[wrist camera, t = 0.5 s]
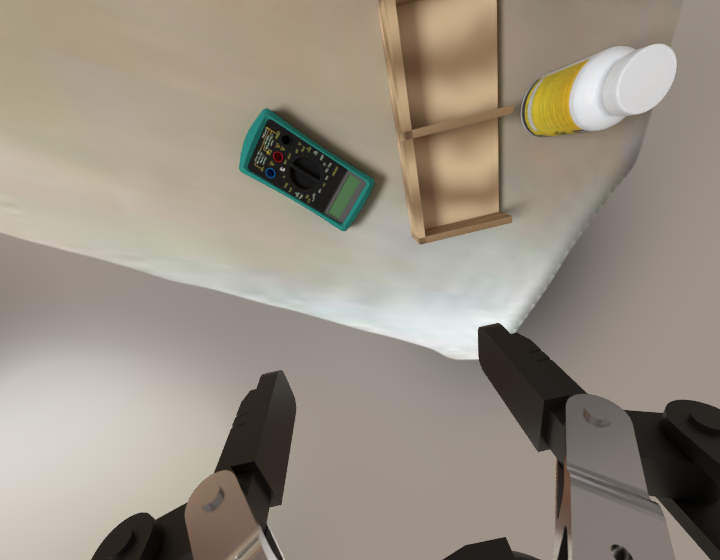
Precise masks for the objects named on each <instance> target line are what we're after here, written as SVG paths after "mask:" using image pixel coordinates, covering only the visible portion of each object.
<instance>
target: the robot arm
mask: <svg viewBox="0 0 720 560" xmlns="http://www.w3.org/2000/svg"><path fill="white" fill-rule="evenodd" d="M478 353H479V361H480V365H481V367H482V370H483V371H484V373H485V374H486V376H487V377H488V379H489V380H490V382H491V383H492V385H493V386H494V388H495V389H496V391H497V392H498V394H499V395H500V396H501V398H502V399H503V401H504V402H505V404H506V405H507V407H508V408H509V410H510V411H511V413H512V414H513V416H514V417H515V419H516V420H517V422H518V423H519V425H520V426H521V428H522V429H523V430H524V432H525V433H526V435H527V436H528V438H529V439H530V441H531V442H532V444H533V445H534V447H535V448H536V449H537V451H538V452H540V451H544V450H549V449H551V451H552V452H553V454H554V455H555V456H556V458H557V461H556V505H555V506H556V507H555V509H556V510H555V536H554V546H553V560H675V556H674V553H673V548H672V544H671V540H670V536H669V533H668V528H667V524H666V520H665V517H664V514H663V511H662V509H661V507H660V506H659V505H658V503H656V502H653V501H651V500H650V498H649V496H655V497H656V498H658V500H659V501H660V502H661V503H662V504H663V506H664V507H665V508H666V509H667V510H668V511H669V512H670V513H671V515H672V516H673V517H674V518H675V519H676V520H677V521H678V523H679V524H680V525H681V526H682V527H683V528H684V530H685V531H686V532H687V533H688V534H689V535H690V536H691V538H693V540H694V541H695V542H696V543H697V545H698V546H699V547H700V548H701V549H702V550H703V551H704V552H705V554H706V555H707V556H708V557H709V558H710V559H711V560H720V409H718V408H716V407H713V406H710V405H708V404H704V403H701V402H696V401H691V400H676V401H672V402H670V403H668V404H667V406H666V408H665V410H664V413H655V412H641V411H629V410H623V409H622V408H620V407H619V406H618V405H616V404H615V403H613V402H611V401H609V400H607V399H605V398H602V397H599V396H596V395H591V394H587V393H586V392H585V391H584V390H583V389H582V388H581V387H580V386H579V385H578V384H577V383H576V382H574V381H573V380H572V379H571V378H570V377H569V376H568V375H567V374H566V373H565V372H564V371H563V370H562V369H561V368H560V367H559V366H557V364H556V363H555V362H553V361H552V360H550V358H549V357H548V356H547V355H546V354H545V353H544V352H542V351H541V349H540V348H539V347H538V346H536V344H535V343H533V342H532V341H531V340H530V339H528V338H526V337H524V336H522V335H520V334H518V333H514V334H510V333H509V332H508V331H507V330H506V329H505V328H504V327H503V326H502V325H501V324H500V323H496V324H491V325H487V326H482V327H479V329H478ZM295 415H296V402H295V397H294V395H293V392H292V390H291V388H290V386H289V383H288V381H287V379H286V376H285V374H284V372H283V371H282V370H279V371H275V372H270V373H266V374H263V375H261V377H260V380H259V383H258V386H257V389H255V390H251V391H250V392H249V393H248V395H247V396H246V397H245V399H244V400H243V401H242V402H241V405H240V407H239V410H238V412H237V417H236V418H235V420H234V423H233V425H232V426H233V428H232V429H231V430H230V433H229V436H228V438H227V441H226V443H225V446H224V449H223V451H222V454H221V457H220V459H219V462H218V464H217V467H216V469H215V472H214V474H212V475H210V476H209V477H208V478H206V479H205V480H204V481H202V482H201V483H200V484H199V486H198V487H197V488H196V489H195V490H194V492H193V493H192V495H191V497H190V498H189V500H188V502H187V503H185V504H184V505H182V506H180V507H178V508H176V509H174V510H173V511H171V512H169V513H167V514H165V515H164V516H162V517H160V518H158V519H156V520H155V519H154V518H153V517H152V516H151V515H150V514H148V513H138V514H135V515H133V516H131V517H129V518H127V519H126V520H124V521H123V522H122V523H120V524H119V525H118V526H117V527H116V528H114V529H113V530H112V532H111V533H110V534H109V535H108V536H107V537H106V538H105V539H104V540H103V542H102V543H101V545H100V546H99V548H98V549H97V551H96V552H95V554H94V556H93V557H92V559H91V560H285V558H284V556H283V554H282V551H281V549H280V547H279V545H278V543H277V541H276V539H275V537H274V535H273V533H272V530H271V528H270V526H269V524H268V522H267V518H268V512H269V507H273V506H278V505H281V504H282V497H283V491H284V485H285V479H286V472H287V466H288V459H289V453H290V447H291V440H292V434H293V428H294V422H295ZM443 560H540V559H537V558H535V557H533V556H530V555H527V554H523V553H520V552H515V551H512V550H511V548H510V546H509V544H508V541H507V539H506V537H504V538H499V539H494V540H489V541H484V542H480V543H475V544H470V545H465V546H464V547H462V548H460V549H459V550H457V551H456V552H454V553H453V554H451V555H450V556H448V557H446V558H445V559H443Z"/></svg>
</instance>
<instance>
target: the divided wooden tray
mask: <svg viewBox="0 0 720 560" xmlns="http://www.w3.org/2000/svg"><path fill="white" fill-rule="evenodd" d="M377 6H378V12H379V19H380V26H381V33H382V39H383V46H384V53H385V59H386V66H387V73H388V79H389V86H390V93H391V100H392V106H393V113H394V120H395V126H396V133H397V140H398V146H399V153H400V160H401V167H402V173H403V180H404V187H405V193H406V200H407V207H408V213H409V220H410V227H411V234H412V237H413V238H414V239H415V240H416V241H417V242H418V243H419V244H424V243H429V242H433V241H437V240H441V239H445V238H449V237H454V236H458V235H462V234H466V233H470V232H474V231H479V230H483V229H487V228H491V227H495V226H499V225H504V224H508V223H512V216H510V215H507V214H504V213H501V212H499V177H498V117H501V116H505V115H509V114H513V105H510V106H506V107H502V108H498V77H497V0H379V1H378V5H377Z"/></svg>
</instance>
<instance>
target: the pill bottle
mask: <svg viewBox="0 0 720 560" xmlns="http://www.w3.org/2000/svg"><path fill="white" fill-rule="evenodd" d="M676 66H677V61H676V56H675V54H674V52H673V50H672V49H671V48H670V47H668V46H667V45H664V44H653V45H649V46H646V47H643V48H640V49H637V50H635V49H634V48H631V47H627V46H616V47H612V48H609V49H606V50H603V51H601V52H599V53H596V54H594V55H592V56H589V57H587V58H584V59H582V60H580V61H577V62H575V63H572V64H570V65H568V66H565V67H563V68H560V69H558V70H555V71H553V72H550V73H548V74H546V75H544V76H542V77H540V78H539V79H538V80H537V81H535V82H534V83H533V84H532V86H531V87H530V88H529V90H528V91H527V93H526V95H525V97H524V99H523V102H522V106H521V121H522V124H523V126H524V128H525V129H526V130H527V132H529V133H530V134H532V135H534V136H538V137H548V136H556V135H565V134H573V133H582V132H593V131H599V130H603V129H607V128H609V127H611V126H613V125H615V124H617V123H618V122H620V121H621V120H623V119H624V118H625V117H626V116H631V115H637V114H641V113H644V112H646V111H648V110H650V109H652V108H653V107H654V106H656V105H657V104H658V103H659V102H660V101H661V100H662V99H663V98H664V96H665V95H666V94H667V92H668V90H669V89H670V87H671V85H672V83H673V80H674V78H675V74H676V68H677V67H676Z"/></svg>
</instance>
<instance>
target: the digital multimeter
mask: <svg viewBox="0 0 720 560" xmlns="http://www.w3.org/2000/svg"><path fill="white" fill-rule="evenodd" d="M264 126H265V127H264ZM282 126H283V127H282ZM285 128H286V129H285ZM288 130H289V131H288ZM291 132H292V133H291ZM294 134H295V135H294ZM306 155H307V156H306ZM251 156H252V157H251ZM332 159H333V160H332ZM239 169H240V171H241V172H242V173H244V174H246V175H248V176H250V177H252V178H253V179H255V180H257V181H259V182H261V183H263V184H265V185H267V186H269V187H270V188H272V189H274V190H276V191H278V192H279V193H281V194H283V195H285V196H287V197H288V198H290V199H292V200H294V201H295V202H297V203H299V204H300V205H302V206H304V207H305V208H307V209H309V210H310V211H312V212H314V213H315V214H317V215H318V216H320V217H321V218H323V219H324V220H326V221H328V222H329V223H331V224H332V225H334V226H335V227H337V228H338V229H340V230H341V231H346V230H347V229H348V228H349V227H350V225H351V224H352V222H353V221H354V220H355V218H356V217H357V215H358V214H359V212H360V210H361V209H362V207H363V205H364V204H365V202H366V200H367V198H368V196H369V194H370V192H371V190H372V188H373V186H374V184H375V181H374V179H373V178H371V177H370V176H368V175H366V174H365V173H363V172H361V171H360V170H358V169H356V168H355V167H353V166H351V165H350V164H348V163H346V162H345V161H343V160H341V159H340V158H338V157H337V156H335V155H334V154H332V153H331V152H329V151H328V150H326V149H324V148H323V147H321V146H320V145H318V144H317V143H315V142H314V141H313V140H311V139H310V138H308V137H307V136H305V135H304V134H303V133H301V132H300V131H298V130H297V129H295V128H294V127H293V126H291V125H290V124H288V123H287V122H286V121H284V120H283V119H282V118H280V117H279V116H277V115H276V114H275V113H273V112H272V111H271V110H269V109H267V108H266V109H264V110H263V111H262V112H261V113H260V115H259V116H258V117H257V119H256V120H255V121H254V123H253V124H252V126H251V128H250V129H249V131H248V133H247V135H246V138H245V140H244V143H243V148H242V152H241V158H240V165H239ZM251 171H252V172H251ZM365 185H366V186H365Z"/></svg>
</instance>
